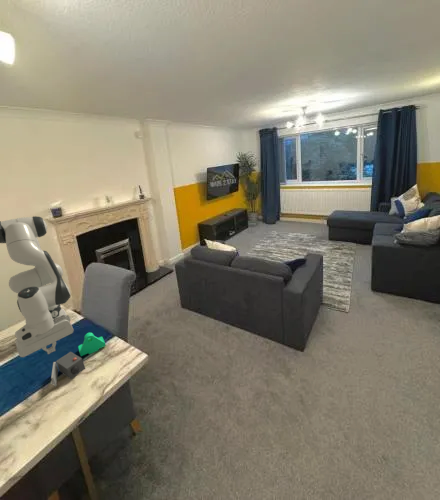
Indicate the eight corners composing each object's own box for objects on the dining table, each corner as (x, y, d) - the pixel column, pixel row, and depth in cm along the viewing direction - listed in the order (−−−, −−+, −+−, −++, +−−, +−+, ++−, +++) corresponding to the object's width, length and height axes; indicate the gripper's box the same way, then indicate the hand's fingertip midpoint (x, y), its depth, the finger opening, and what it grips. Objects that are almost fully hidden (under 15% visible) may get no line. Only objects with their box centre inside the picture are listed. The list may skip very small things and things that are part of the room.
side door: (55, 370, 122) (51, 362, 121) (58, 369, 123) (55, 361, 121) (52, 387, 113) (49, 379, 111) (56, 386, 114) (53, 377, 112)
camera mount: (103, 339, 143) (98, 324, 139) (106, 347, 136) (101, 331, 133) (79, 349, 136) (73, 333, 133) (81, 358, 130) (75, 341, 127)
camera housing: (59, 371, 123) (55, 360, 121) (74, 361, 128) (70, 350, 126) (72, 380, 117) (67, 368, 115) (86, 369, 123) (82, 358, 120)
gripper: (65, 310, 116) (74, 336, 121) (9, 334, 102) (22, 362, 107) (70, 315, 112) (79, 341, 116) (13, 341, 98) (25, 369, 103)
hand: (51, 351), depth 111 cm, fingers closed
